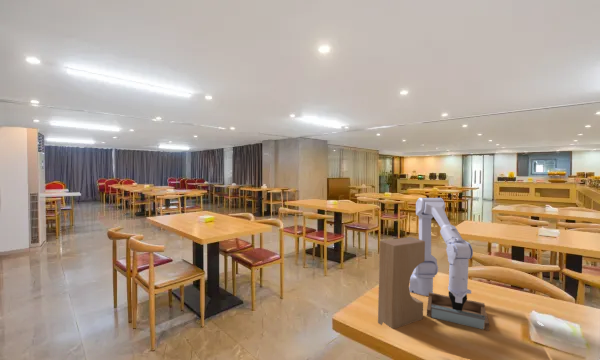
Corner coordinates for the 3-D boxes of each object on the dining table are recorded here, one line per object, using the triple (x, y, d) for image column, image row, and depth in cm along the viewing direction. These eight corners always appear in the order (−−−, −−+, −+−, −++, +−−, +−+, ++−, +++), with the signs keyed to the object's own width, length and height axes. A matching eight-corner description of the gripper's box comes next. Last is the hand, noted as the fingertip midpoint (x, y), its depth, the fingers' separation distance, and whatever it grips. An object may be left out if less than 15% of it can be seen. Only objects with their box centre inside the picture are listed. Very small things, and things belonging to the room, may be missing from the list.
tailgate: (431, 317, 102) (431, 306, 99) (431, 315, 103) (431, 304, 100) (483, 330, 94) (485, 318, 92) (483, 327, 95) (484, 315, 93)
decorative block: (392, 333, 94) (394, 246, 93) (377, 322, 100) (379, 240, 99) (423, 322, 100) (425, 241, 99) (406, 313, 107) (409, 236, 106)
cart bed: (426, 320, 102) (427, 306, 102) (428, 304, 114) (428, 292, 114) (488, 335, 93) (489, 320, 93) (483, 315, 106) (484, 303, 105)
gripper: (473, 286, 88) (472, 327, 89) (469, 271, 101) (468, 307, 102) (448, 282, 92) (447, 321, 92) (448, 268, 105) (446, 303, 105)
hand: (456, 314), depth 97 cm, fingers closed, pressing on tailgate
